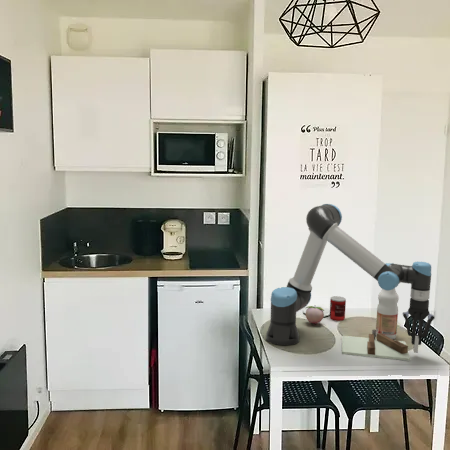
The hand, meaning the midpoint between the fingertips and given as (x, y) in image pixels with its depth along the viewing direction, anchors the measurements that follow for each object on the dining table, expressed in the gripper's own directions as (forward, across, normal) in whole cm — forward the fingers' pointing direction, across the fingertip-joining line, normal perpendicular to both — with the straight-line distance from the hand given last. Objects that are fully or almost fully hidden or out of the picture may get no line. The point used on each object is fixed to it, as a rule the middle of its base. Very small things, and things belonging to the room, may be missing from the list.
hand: (415, 351), depth 223 cm
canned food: (+2, -34, +41) cm, 53 cm away
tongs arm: (+1, -9, +6) cm, 11 cm away
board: (+2, -17, +4) cm, 17 cm away
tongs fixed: (+1, -18, +4) cm, 18 cm away
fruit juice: (+2, -11, +21) cm, 24 cm away
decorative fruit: (+2, -45, +29) cm, 53 cm away
